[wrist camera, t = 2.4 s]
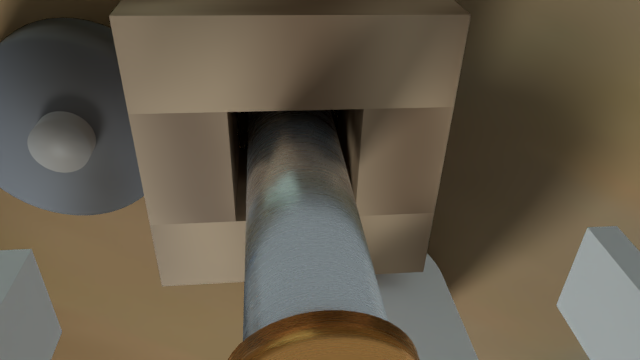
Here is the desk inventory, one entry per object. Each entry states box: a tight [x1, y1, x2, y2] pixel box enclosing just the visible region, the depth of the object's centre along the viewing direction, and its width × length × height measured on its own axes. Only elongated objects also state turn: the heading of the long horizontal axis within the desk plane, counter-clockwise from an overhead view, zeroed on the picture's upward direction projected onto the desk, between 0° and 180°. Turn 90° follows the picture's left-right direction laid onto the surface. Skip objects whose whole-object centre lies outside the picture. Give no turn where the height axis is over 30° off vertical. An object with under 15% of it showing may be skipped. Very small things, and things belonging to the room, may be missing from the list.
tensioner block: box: [0, 0, 471, 286], centre depth 19 cm, size 16×10×5 cm, turn 88°
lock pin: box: [228, 110, 420, 360], centre depth 15 cm, size 4×4×14 cm
